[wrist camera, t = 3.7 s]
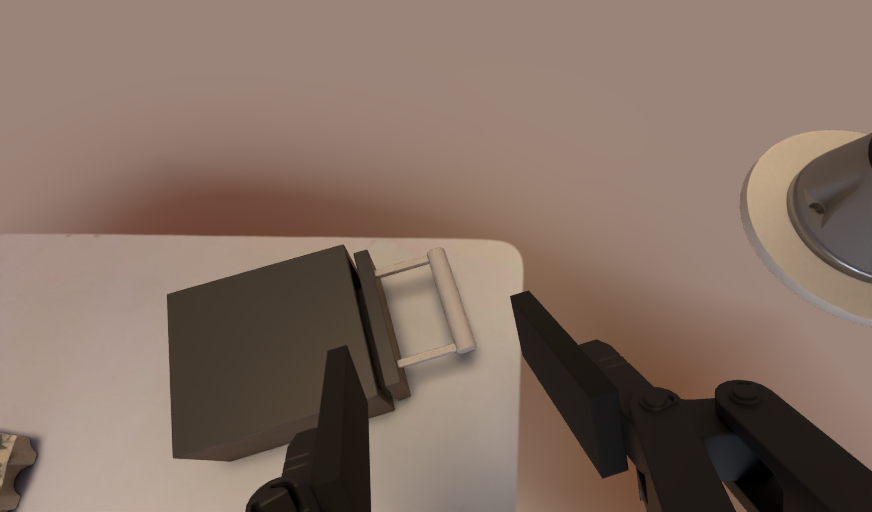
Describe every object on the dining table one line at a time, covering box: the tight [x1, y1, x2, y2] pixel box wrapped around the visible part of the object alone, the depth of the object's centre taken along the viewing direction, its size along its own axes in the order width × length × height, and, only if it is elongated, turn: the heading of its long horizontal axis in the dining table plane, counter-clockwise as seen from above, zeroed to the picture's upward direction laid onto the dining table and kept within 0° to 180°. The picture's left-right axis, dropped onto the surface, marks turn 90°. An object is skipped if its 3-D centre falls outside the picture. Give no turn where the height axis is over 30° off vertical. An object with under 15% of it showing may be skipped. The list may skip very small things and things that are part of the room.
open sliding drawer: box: [354, 248, 477, 400], centre depth 39 cm, size 20×11×7 cm, turn 106°
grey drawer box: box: [167, 245, 395, 461], centre depth 39 cm, size 15×13×9 cm
